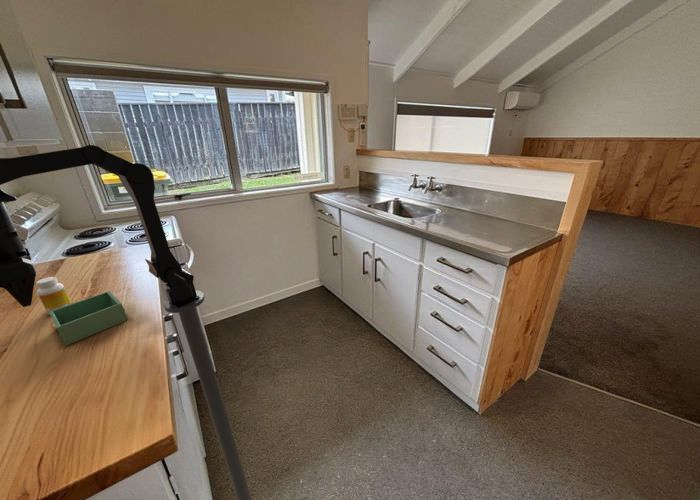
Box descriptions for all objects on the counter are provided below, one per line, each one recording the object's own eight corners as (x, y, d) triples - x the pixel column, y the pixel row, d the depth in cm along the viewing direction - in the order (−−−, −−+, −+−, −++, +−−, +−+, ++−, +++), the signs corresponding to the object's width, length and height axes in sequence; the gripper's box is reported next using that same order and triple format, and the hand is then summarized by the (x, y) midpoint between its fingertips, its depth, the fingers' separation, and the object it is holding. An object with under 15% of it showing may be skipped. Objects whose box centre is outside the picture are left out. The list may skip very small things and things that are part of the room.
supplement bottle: (76, 307, 82) (61, 278, 78) (50, 317, 78) (34, 286, 74) (69, 302, 85) (55, 273, 81) (45, 311, 80) (29, 281, 77)
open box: (115, 306, 82) (109, 290, 80) (128, 319, 75) (121, 303, 73) (57, 328, 73) (48, 311, 71) (65, 345, 66) (56, 328, 64)
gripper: (-74, 228, 54) (-33, 299, 59) (-93, 249, 43) (-40, 335, 48) (13, 217, 62) (42, 281, 67) (17, 232, 50) (51, 307, 56)
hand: (25, 298), depth 59 cm, fingers open, 9 cm apart
